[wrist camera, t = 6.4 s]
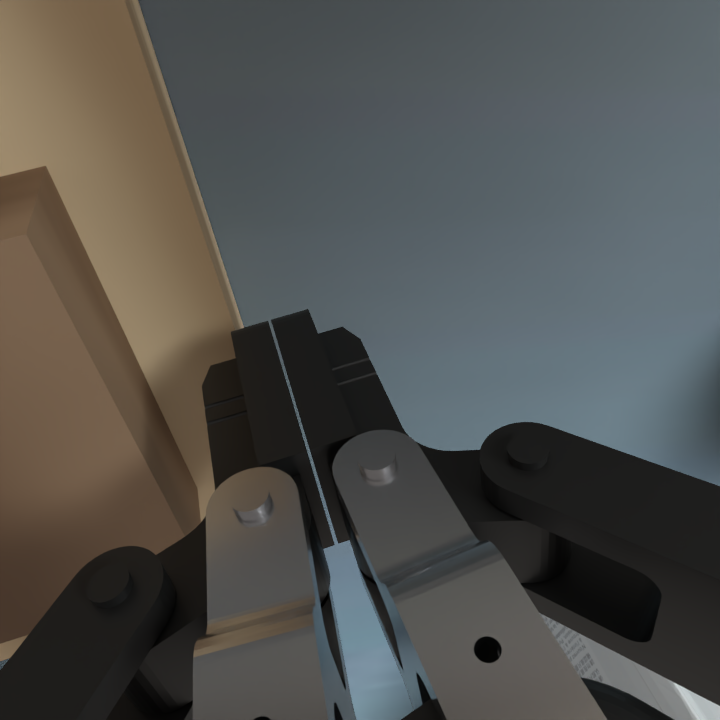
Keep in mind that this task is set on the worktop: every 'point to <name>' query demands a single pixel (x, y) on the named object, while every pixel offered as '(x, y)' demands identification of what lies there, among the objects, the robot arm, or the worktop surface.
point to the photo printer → (630, 676)
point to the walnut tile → (71, 416)
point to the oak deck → (122, 195)
